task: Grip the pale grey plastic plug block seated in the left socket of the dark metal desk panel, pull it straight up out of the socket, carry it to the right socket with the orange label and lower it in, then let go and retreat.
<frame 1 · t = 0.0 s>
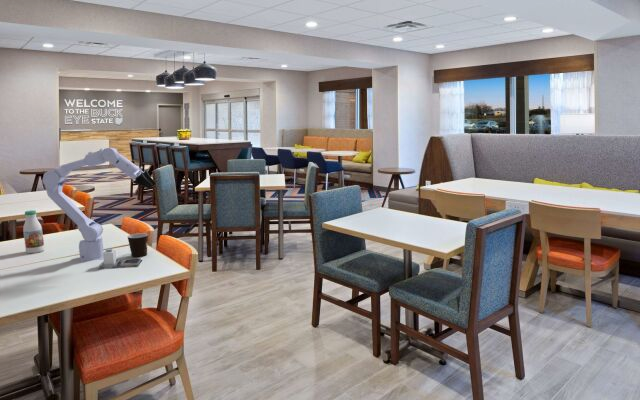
hand: (153, 186, 209), 32 cm above the table, tool tilted 50°, fingers open, 7 cm apart
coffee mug: (141, 256, 214), on the table
panel: (121, 265, 199), on the table
plug: (110, 265, 198), point 1 cm above the table, touching panel
milk bottle: (35, 251, 224), on the table
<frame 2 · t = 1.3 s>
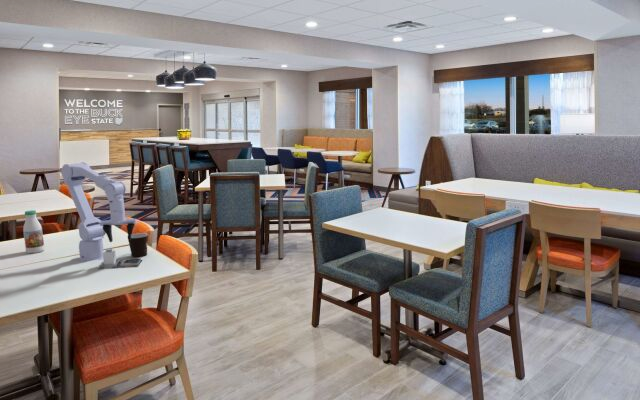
hand: (120, 241, 201), 10 cm above the table, tool pointing down, fingers open, 7 cm apart
nothing on the table moved.
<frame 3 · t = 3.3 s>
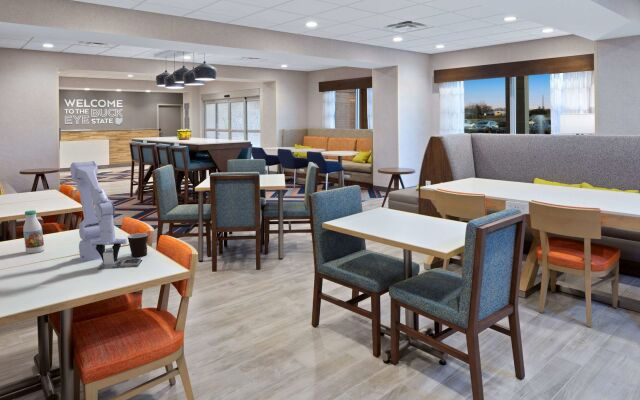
hand: (110, 261, 198), 2 cm above the table, tool pointing down, fingers closed on plug, 4 cm apart
plug: (110, 265, 198), point 1 cm above the table, touching gripper, panel
everything else where it was.
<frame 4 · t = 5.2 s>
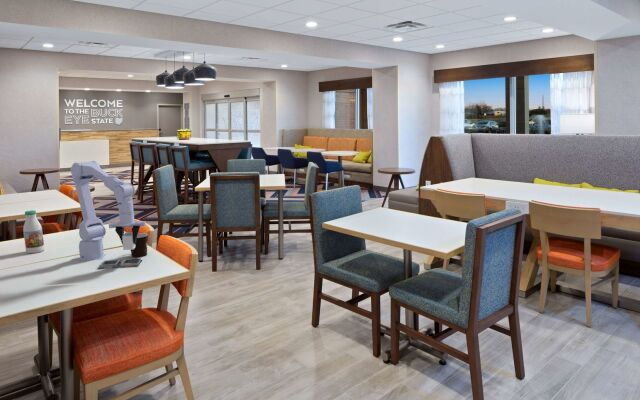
hand: (129, 243, 198), 10 cm above the table, tool pointing down, fingers closed on plug, 4 cm apart
plug: (129, 248, 198), point 8 cm above the table, touching gripper
everything else where it was.
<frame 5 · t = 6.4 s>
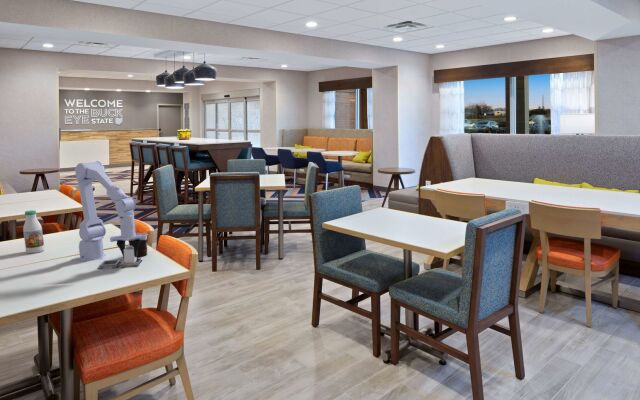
hand: (130, 256, 199), 4 cm above the table, tool pointing down, fingers closed on plug, 4 cm apart
plug: (130, 261, 199), point 2 cm above the table, touching gripper
everything else where it was.
when the fingers open (3 cm above the table, at t = 7.1 s): plug stays where it is, resting on panel.
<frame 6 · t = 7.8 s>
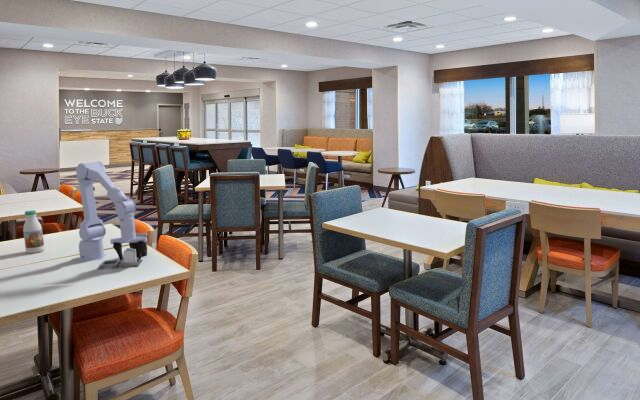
hand: (130, 259, 199), 3 cm above the table, tool pointing down, fingers open, 7 cm apart
plug: (130, 264, 199), point 1 cm above the table, touching panel
everything else where it was.
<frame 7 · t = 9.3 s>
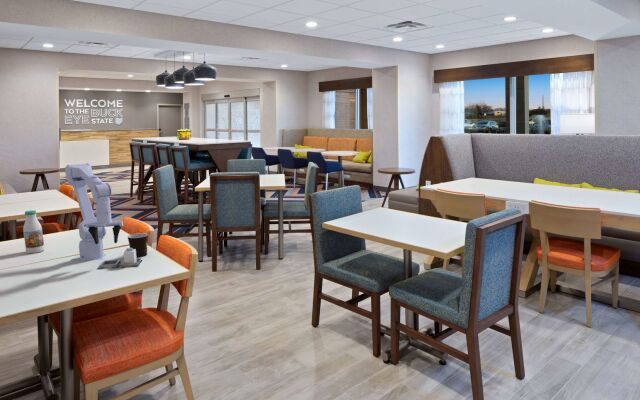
hand: (106, 243, 198), 10 cm above the table, tool pointing down, fingers open, 7 cm apart
nothing on the table moved.
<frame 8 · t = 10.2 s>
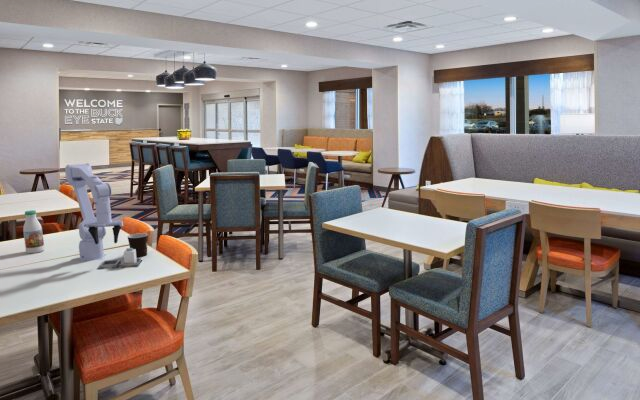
hand: (106, 243, 198), 10 cm above the table, tool pointing down, fingers open, 7 cm apart
nothing on the table moved.
at the end: plug 0.3 cm from the target spot on the panel, point 0.6 cm above the panel's base; plug tilted 0°; the gripper is holding nothing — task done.
